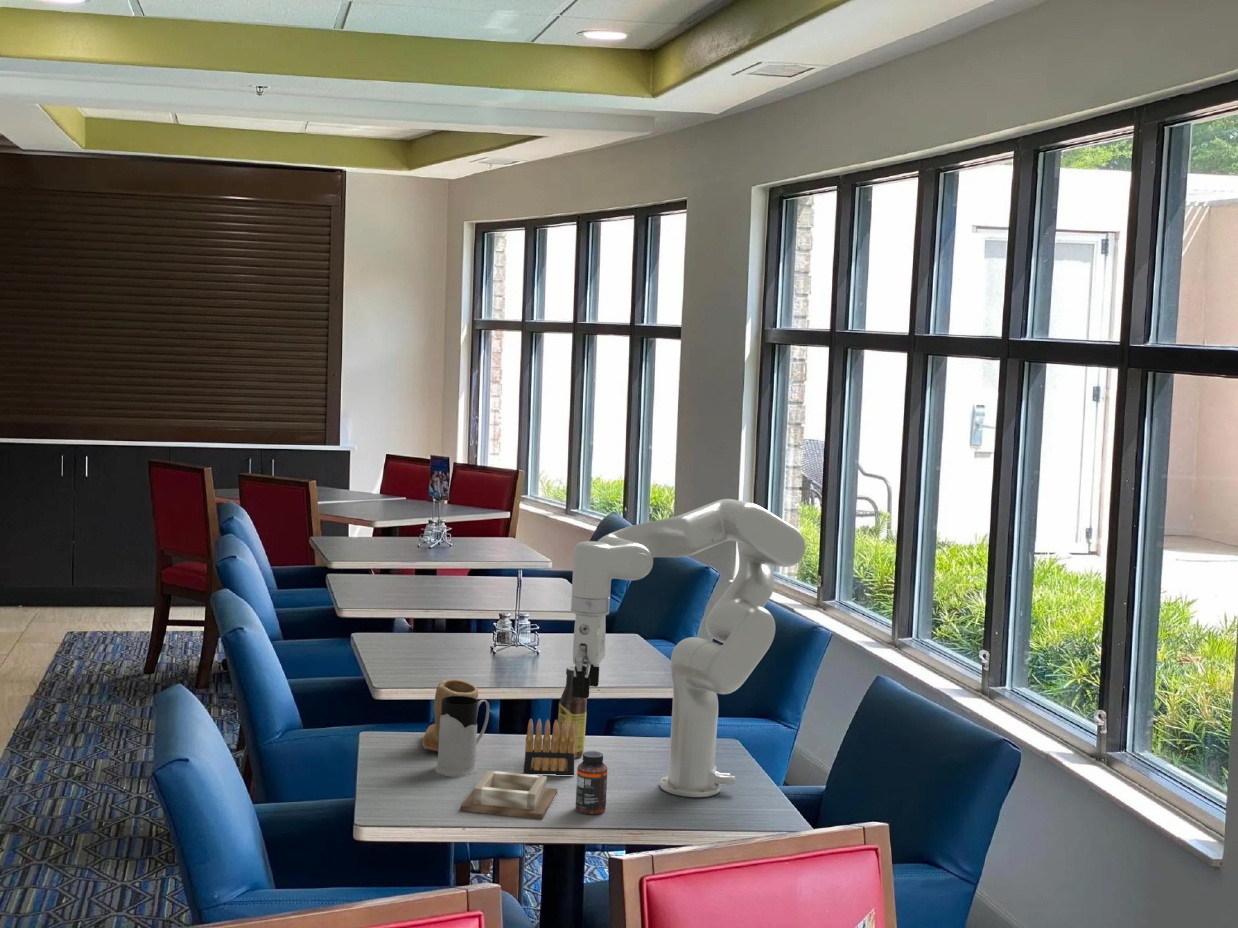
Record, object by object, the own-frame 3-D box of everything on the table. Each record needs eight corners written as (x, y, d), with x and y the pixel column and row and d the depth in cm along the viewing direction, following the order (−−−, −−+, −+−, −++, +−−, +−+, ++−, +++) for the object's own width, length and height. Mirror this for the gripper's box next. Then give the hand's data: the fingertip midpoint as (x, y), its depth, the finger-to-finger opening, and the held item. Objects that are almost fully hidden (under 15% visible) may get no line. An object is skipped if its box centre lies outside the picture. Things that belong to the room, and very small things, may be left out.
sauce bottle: (554, 750, 301) (560, 663, 299) (582, 751, 301) (587, 664, 300) (556, 759, 294) (561, 670, 293) (585, 760, 295) (590, 671, 293)
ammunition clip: (573, 774, 285) (576, 719, 284) (574, 777, 283) (577, 721, 282) (523, 772, 284) (526, 717, 283) (523, 775, 282) (526, 719, 281)
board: (557, 793, 271) (558, 774, 271) (542, 819, 255) (543, 798, 255) (479, 785, 273) (481, 766, 273) (460, 810, 257) (461, 790, 257)
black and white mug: (426, 770, 281) (430, 699, 280) (470, 756, 293) (473, 688, 292) (458, 779, 276) (462, 707, 275) (501, 764, 288) (505, 696, 287)
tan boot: (472, 757, 292) (475, 690, 291) (417, 754, 292) (420, 686, 291) (479, 738, 307) (483, 674, 306) (427, 735, 307) (431, 671, 306)
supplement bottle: (601, 804, 266) (604, 748, 265) (608, 814, 260) (612, 757, 259) (571, 805, 264) (575, 749, 263) (579, 815, 258) (582, 758, 257)
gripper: (601, 614, 252) (596, 703, 253) (616, 599, 269) (611, 683, 270) (562, 611, 253) (557, 699, 255) (580, 596, 270) (575, 679, 272)
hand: (585, 691), depth 262 cm, fingers open, 9 cm apart
